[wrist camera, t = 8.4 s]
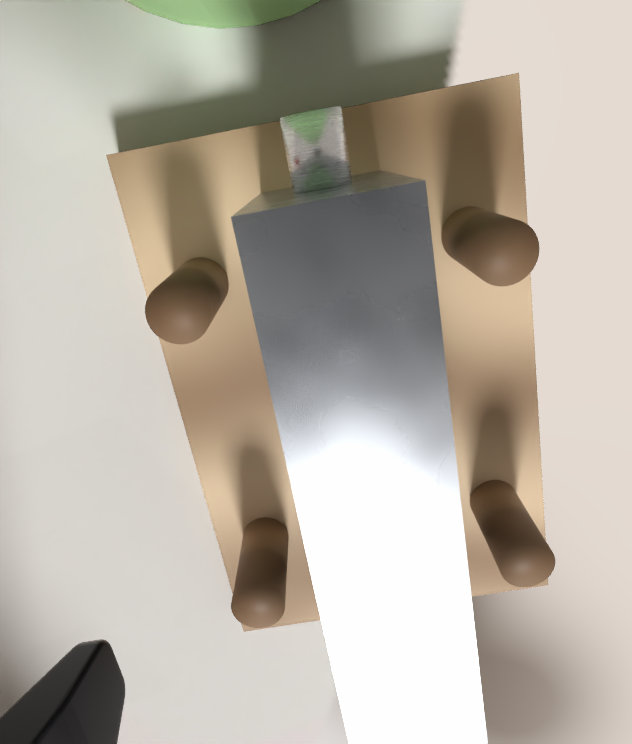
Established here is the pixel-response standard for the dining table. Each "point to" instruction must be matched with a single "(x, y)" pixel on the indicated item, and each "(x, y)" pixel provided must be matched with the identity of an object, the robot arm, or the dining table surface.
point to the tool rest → (457, 310)
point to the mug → (223, 11)
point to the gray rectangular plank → (367, 433)
